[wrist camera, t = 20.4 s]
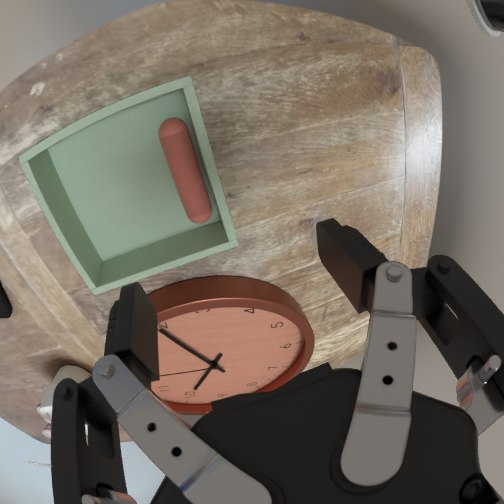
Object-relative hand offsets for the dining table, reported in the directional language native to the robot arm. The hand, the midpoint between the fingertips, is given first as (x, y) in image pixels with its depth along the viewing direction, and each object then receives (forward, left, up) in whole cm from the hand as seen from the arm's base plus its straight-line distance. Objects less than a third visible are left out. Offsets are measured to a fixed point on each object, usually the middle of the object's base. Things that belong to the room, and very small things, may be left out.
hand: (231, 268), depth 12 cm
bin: (0, -6, -17) cm, 18 cm away
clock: (+29, -7, -17) cm, 34 cm away
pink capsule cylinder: (0, -1, -17) cm, 17 cm away
